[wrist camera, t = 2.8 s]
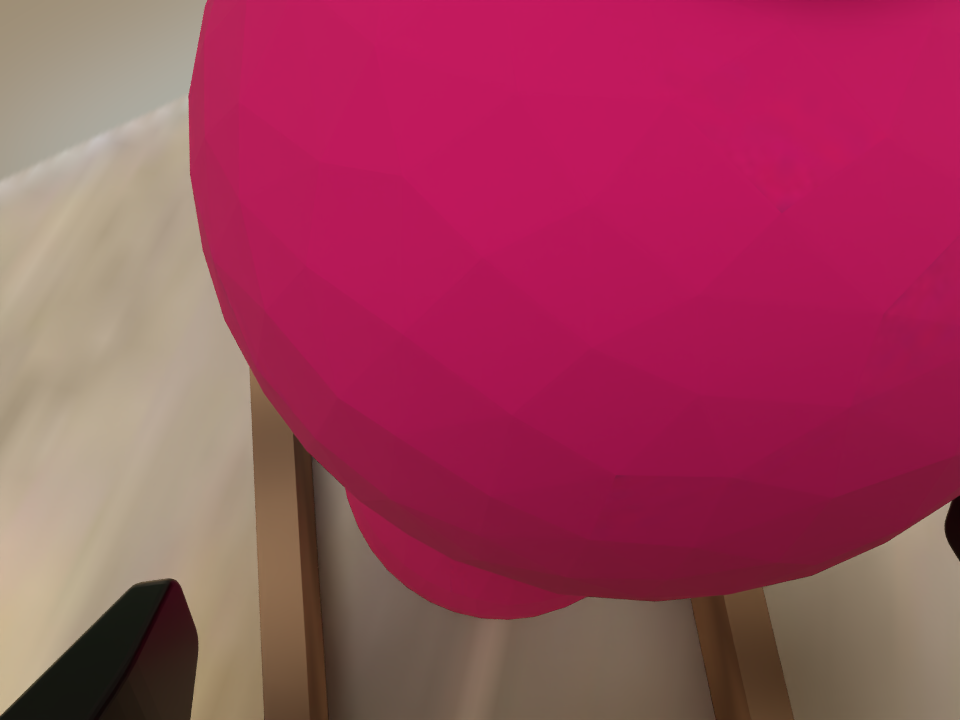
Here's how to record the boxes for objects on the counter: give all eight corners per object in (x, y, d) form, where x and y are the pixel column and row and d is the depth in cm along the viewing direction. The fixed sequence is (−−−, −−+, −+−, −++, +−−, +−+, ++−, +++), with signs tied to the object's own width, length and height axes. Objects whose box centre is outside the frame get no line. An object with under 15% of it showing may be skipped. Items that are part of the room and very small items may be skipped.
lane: (761, 755, 19) (843, 799, 15) (294, 833, 18) (252, 902, 14) (630, 169, 24) (666, 89, 20) (262, 204, 23) (225, 126, 19)
